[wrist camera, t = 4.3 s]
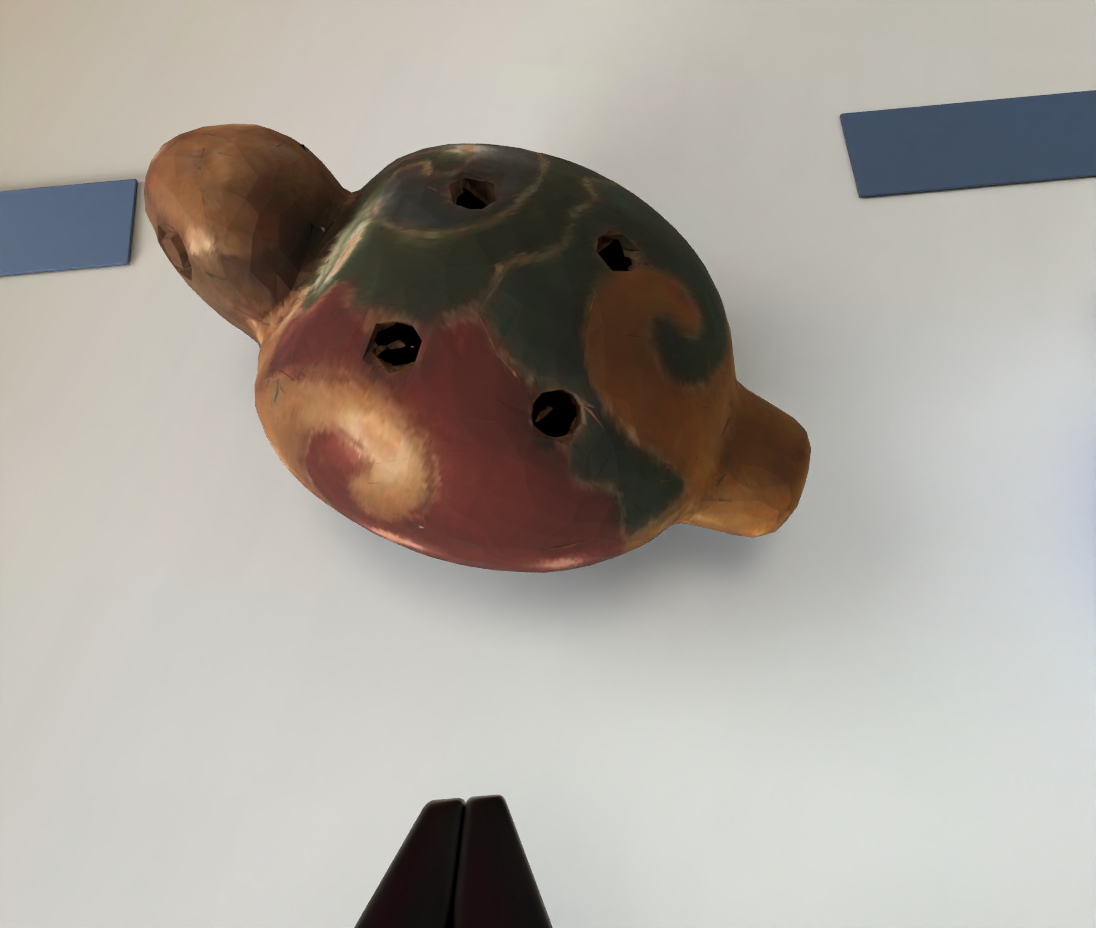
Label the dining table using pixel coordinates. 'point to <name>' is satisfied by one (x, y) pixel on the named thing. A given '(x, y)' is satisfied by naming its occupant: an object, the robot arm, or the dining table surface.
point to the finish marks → (872, 137)
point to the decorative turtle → (478, 348)
